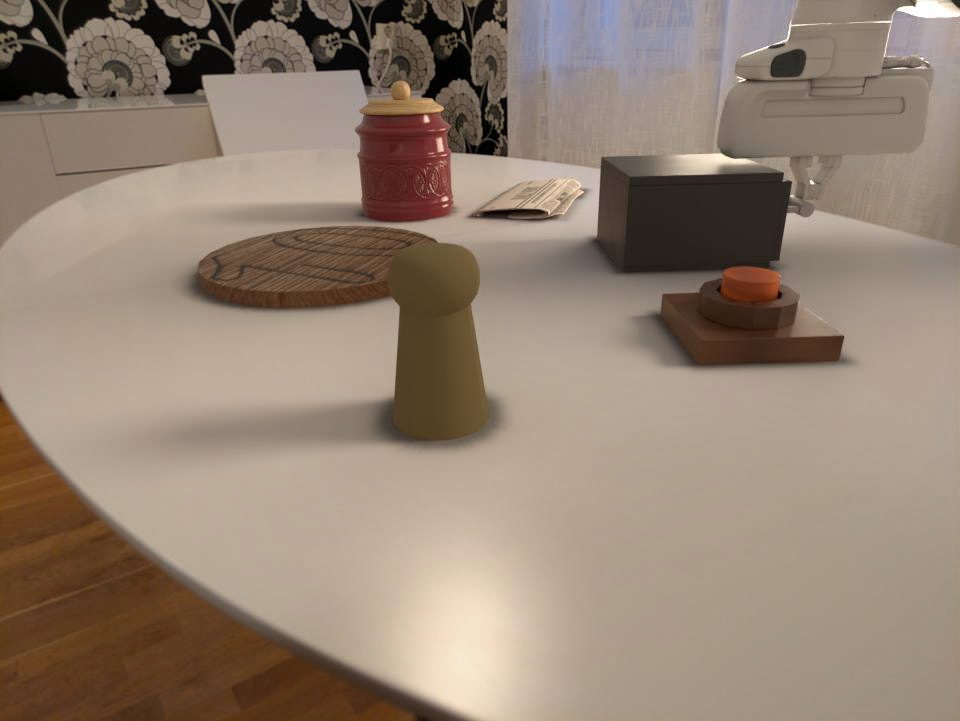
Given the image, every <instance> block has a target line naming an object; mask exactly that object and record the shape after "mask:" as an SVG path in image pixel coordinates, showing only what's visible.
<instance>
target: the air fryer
mask: <svg viewBox="0 0 960 721" xmlns="http://www.w3.org/2000/svg"><path fill="white" fill-rule="evenodd" d="M599 170H600V173H599V190H598V191H599V193H598V208H597V209H598V212H597V230H596V234H597V235H596V239H597V241H598V242H599V244H600V245H601V246H602V248H603V249H604V250H605V251H606V253H607V254H608V256H609V257H610V258H611V259H612V260H613V262H614V263H615V265H616V266H617V267H618V268H619V270H620V271H621V272H622V273H623V274H629V273H663V272H664V273H665V272H687V271H688V272H696V271H698V272H699V271H724V270H726V269H728V268H732V267H744V266H745V267H758V268H764V269H769V268H770V263H771V261H770V258H771V252H772V246H773V240H774V234H775V227H776V221H777V215H778V209H779V203H780V197H781V191H782V185H783V178H784V177H785V172H784V171H780V170H778V169H775V168H772V167H769V166H768V165H764V164H761V163H759V162H756V161H753V160H750V159H748V158H742V159H733V158H729V157H726V156H724V155H723V154H722V153H688V154H657V155H655V154H653V155H652V154H650V155H618V156H617V155H616V156H601V157H600V169H599Z"/></svg>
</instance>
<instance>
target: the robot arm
mask: <svg viewBox="0 0 960 721" xmlns="http://www.w3.org/2000/svg"><path fill="white" fill-rule="evenodd" d="M896 12H901V13H907V14H910V15H912V16H916V17H920V18H921V17H922V18H952V17H960V0H797V2H796V6H795V9H794V12H793V14H792V17H791V19H790V22H789V27H788V35H787V38H786V39H784V40H782V41H780V42H776V43H773V44H770V45H768V46H765V47H763V48H760V49H758V50H754V51H751V52H749V53H746V54H743V55H741V56H739V57H738V58H737V59H736V61H735V64H734V65H735V66H734V75H735V77H736V78H737V79H741V80H739V81H737V82H735V83H734V84H733V85H732V86H731V87H730V88H729V90H728V92H727V94H726V96H725V98H724V101H723V102H724V103H723V106H722V110H721V114H720V119H719V123H718V130H717V136H716V137H717V138H716V146H717V148H718V151H719V152H720V154H723V155H724V156H726V157H729V158H733V159H742V158H745V159H772V158H775V159H776V158H789V165H788V166H789V168H790V170H791V172H792V175H793V177H794V179H795V182H796V187H795V194H794V196H795V197H797V198H800V199H802V200H804V201H822V200H823V199H824V197H825V191H826V186H827V184H828V183H829V182H830V181H831V180H832V178H833V177H834V176H835V174H836V173H837V172H838V171H839V169H840V168H841V164H842V160H843V156H873V155H876V156H877V155H908V154H909V155H911V154H913V153H915V152H916V151H917V150H918V149H919V148H920V147H921V145H922V144H923V143H924V141H925V137H926V136H925V135H926V130H927V126H928V124H927V123H928V117H929V116H928V115H929V105H930V92H931V90H932V86H933V83H934V78H935V69H934V68H933V65H932V64H931V63H930V62H929V61H928V60H925V58H924V57H923V56H922V55H908V56H897V55H886V52H887V46H888V43H889V42H888V41H889V37H890V31H891V27H892V22H893V19H894V18H893V17H894V14H895V13H896ZM922 66H924V67H922ZM814 157H817V165H821V166H820V168H819V169H818V171H817V172H816V174H815V175H814V176H813V178H812V180H811V179H810V176H809V173H808V171H807V168H811V167H813V161H814Z"/></svg>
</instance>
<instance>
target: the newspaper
mask: <svg viewBox="0 0 960 721" xmlns="http://www.w3.org/2000/svg"><path fill="white" fill-rule="evenodd" d="M580 188H581V183H580V182H579V181H577V180H576V179H573V178H550V179H538V180H537V179H536V180H526V181H522V182H521V181H520V182H519V183H517V184H515V185H514V186H512V187H511V188H510V189H509V188H508V190H507V191H504V192H503V193H502V194H500V195H499V196H498V197H496V198H494V199H493V200H491V201H490V202H489V203H487V204H486V205H484V206H483V207H481V208H479V209H478V210H476V211H475V212H474V213H473V217H474V218H475V217H483V216H484V215H486V214H487V213H489V212H493V211H494V212H495V211H510V213H509V214H508V215H507V219H516V220H517V219H518V220H535V219H546V218H549V217H552V216H558V215H562V216H563V215H565V213H566V212H567V211H568V209H570V207H571V205H572V204H573V202H574V201H575V199H577V198H578V197H579V196H581V195H582V194H583V193H585V191H584V190H582V189H580Z"/></svg>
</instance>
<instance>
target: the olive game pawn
mask: <svg viewBox="0 0 960 721" xmlns="http://www.w3.org/2000/svg"><path fill="white" fill-rule="evenodd" d="M387 280H388V288H389V291H390V293H391V295H390V296H391V298H392V299H393V301H394V302H395V303H396V304H397V305H398V307H399V314H398V330H397V346H396V347H397V348H396V362H395V380H394V396H393V413H392V422H393V424H394V427H395V428H396V429H397V430H398V431H399V432H401V433H402V434H403V435H406V436H408V437H411V438H414V439H417V440H422V441H423V440H424V441H431V442H437V441H439V442H440V441H451V440H456V439H460V438H465V437H467V436H469V435H472V434H474V433H477V432H478V431H479V430H481V429H482V428H483V427H485V425H487V422H488V421H489V419H490V414H489V413H490V412H489V405H488V399H487V392H486V387H485V381H484V374H483V369H482V363H481V358H480V357H481V356H480V351H479V345H478V338H477V334H476V327H475V321H474V315H473V314H474V313H473V309H472V303H473V301H474V300H475V299H476V297H477V295H478V293H479V289H480V285H481V272H480V266H479V263H478V259H477V258H476V257H475V255H474V254H473V252H472V251H471V250H469V249H468V248H467V247H465V246H463V245H459V244H455V243H449V242H438V243H423V244H417V245H412V246H409V247H406V248H403V249H402V250H400V251H399V252H397V253H396V254H394V256H393V258H392V260H391V262H390V264H389V268H388V274H387Z"/></svg>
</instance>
